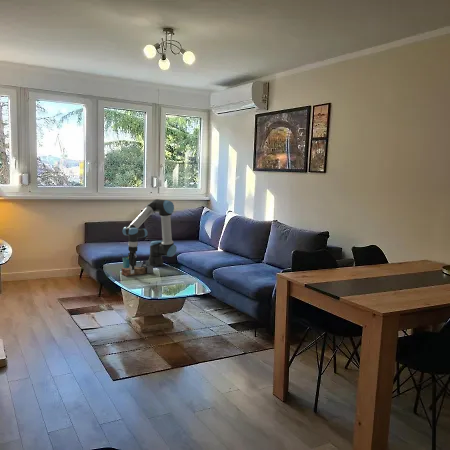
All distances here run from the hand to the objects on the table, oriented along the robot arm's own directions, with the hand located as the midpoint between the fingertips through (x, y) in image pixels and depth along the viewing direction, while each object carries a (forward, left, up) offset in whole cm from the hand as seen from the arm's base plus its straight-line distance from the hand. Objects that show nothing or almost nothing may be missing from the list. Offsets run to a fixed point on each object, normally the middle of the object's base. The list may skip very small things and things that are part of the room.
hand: (132, 273), depth 376 cm
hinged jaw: (-5, -5, -3) cm, 8 cm away
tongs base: (-8, -9, -3) cm, 12 cm away
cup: (-6, -25, -3) cm, 26 cm away
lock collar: (-19, -8, -2) cm, 20 cm away
